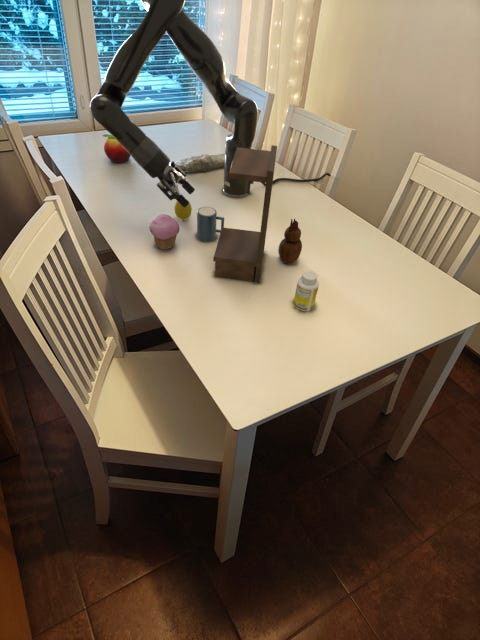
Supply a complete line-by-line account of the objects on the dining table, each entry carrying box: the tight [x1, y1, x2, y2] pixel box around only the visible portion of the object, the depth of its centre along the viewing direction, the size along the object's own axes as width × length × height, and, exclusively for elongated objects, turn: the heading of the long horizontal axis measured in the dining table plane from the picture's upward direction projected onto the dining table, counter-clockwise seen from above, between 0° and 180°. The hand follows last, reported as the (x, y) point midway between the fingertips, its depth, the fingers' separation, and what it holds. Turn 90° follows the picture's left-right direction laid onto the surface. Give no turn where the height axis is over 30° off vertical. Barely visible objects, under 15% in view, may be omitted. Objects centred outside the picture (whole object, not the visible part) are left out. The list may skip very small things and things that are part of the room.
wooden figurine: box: [278, 218, 303, 265], centre depth 129 cm, size 7×6×15 cm
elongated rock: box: [175, 153, 225, 173], centre depth 179 cm, size 35×5×10 cm
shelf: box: [212, 145, 278, 284], centre depth 120 cm, size 14×16×33 cm
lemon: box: [174, 200, 193, 221], centre depth 145 cm, size 6×6×8 cm
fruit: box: [102, 133, 132, 163], centre depth 175 cm, size 11×11×10 cm
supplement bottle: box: [293, 270, 320, 312], centre depth 115 cm, size 6×6×10 cm
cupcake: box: [148, 213, 181, 250], centre depth 132 cm, size 9×9×10 cm
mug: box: [196, 206, 225, 243], centre depth 138 cm, size 8×6×9 cm
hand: (189, 198), depth 132 cm, fingers open, 8 cm apart
